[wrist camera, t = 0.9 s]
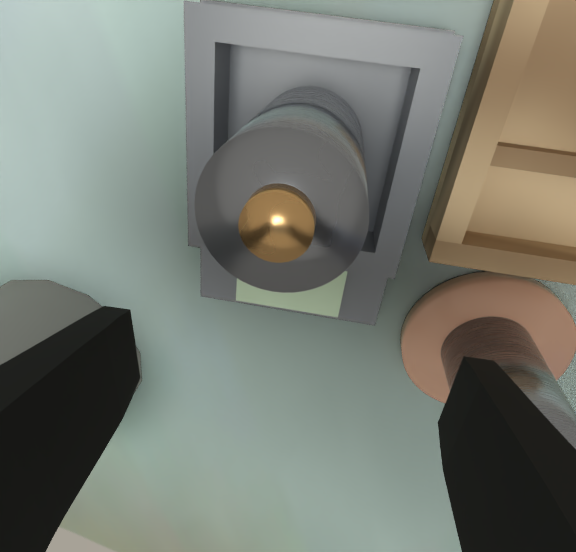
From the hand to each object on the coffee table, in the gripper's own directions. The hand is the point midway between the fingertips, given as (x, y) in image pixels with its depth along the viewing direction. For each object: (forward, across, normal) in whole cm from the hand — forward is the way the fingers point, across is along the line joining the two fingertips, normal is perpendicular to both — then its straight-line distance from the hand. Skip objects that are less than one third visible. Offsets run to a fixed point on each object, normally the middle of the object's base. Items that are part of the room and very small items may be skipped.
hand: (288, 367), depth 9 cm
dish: (+8, -7, +4) cm, 11 cm away
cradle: (+8, +1, -2) cm, 8 cm away
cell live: (+7, 0, -3) cm, 7 cm away
